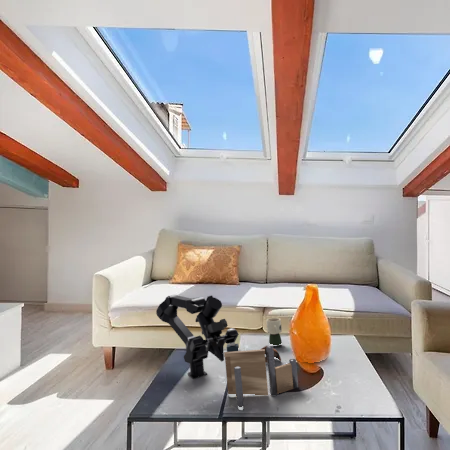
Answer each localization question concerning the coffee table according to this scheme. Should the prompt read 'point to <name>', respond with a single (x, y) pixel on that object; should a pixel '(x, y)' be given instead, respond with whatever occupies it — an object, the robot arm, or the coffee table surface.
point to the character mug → (274, 330)
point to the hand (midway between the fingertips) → (222, 360)
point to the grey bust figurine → (232, 345)
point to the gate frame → (272, 377)
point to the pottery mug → (274, 354)
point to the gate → (247, 371)
